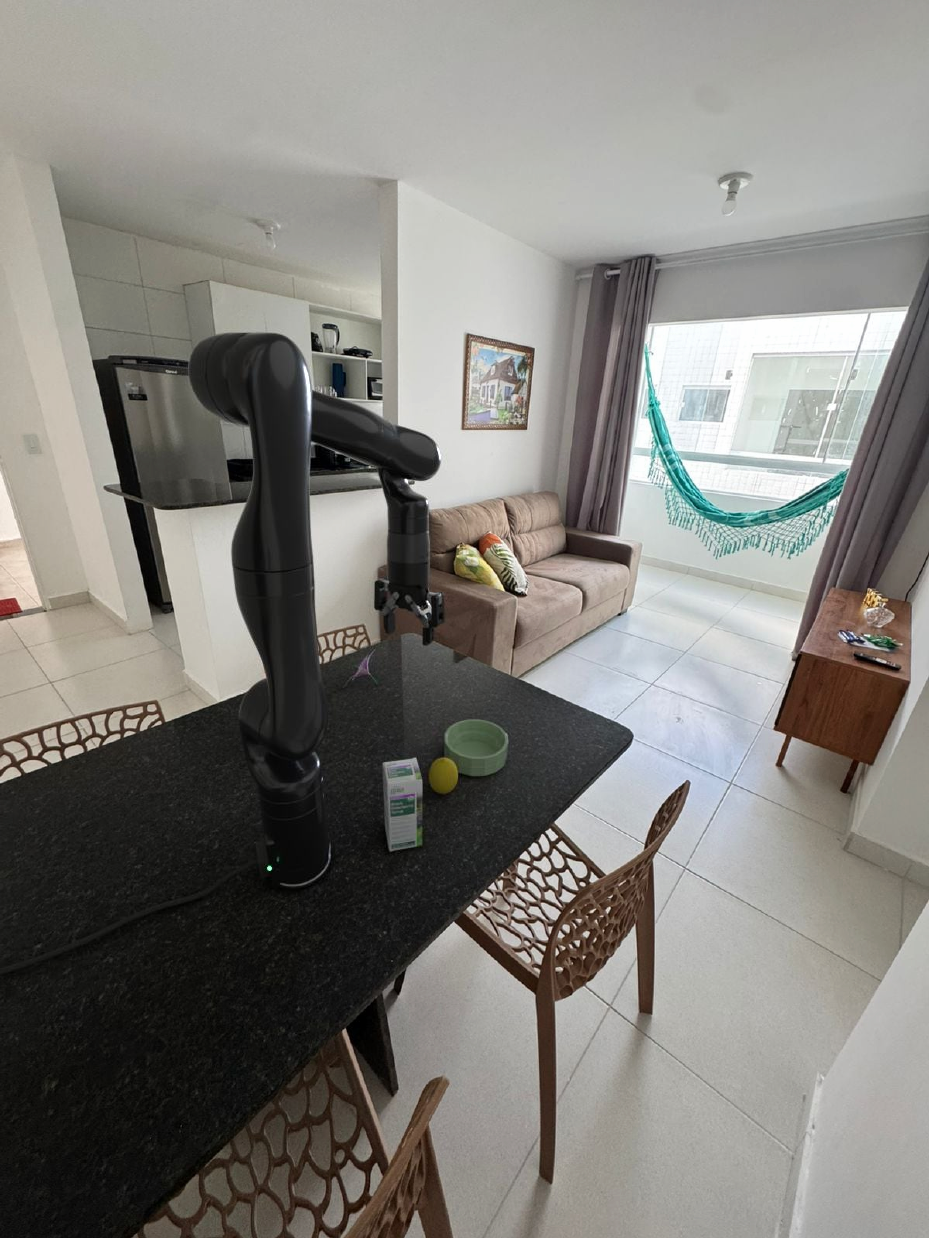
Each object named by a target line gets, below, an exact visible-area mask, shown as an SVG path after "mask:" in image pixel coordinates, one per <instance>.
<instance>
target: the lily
mask: <svg viewBox="0 0 929 1238" xmlns="http://www.w3.org/2000/svg"><path fill="white" fill-rule="evenodd" d="M374 652H375V650H373V651H372V652H371V654H369V655H368V654H367V655H366V656H365V657H364V658H363V659H362V661H361V662H360V663H359V665H358V664H357V663H356V664H354V666H355V667H356V668H358V669H357V672H356V673H355V674H353V675H352V676H350V678H349V679H348V680H347V681H346V683H345V684H344V686H343V687H342V688H343V689H344V688H345V686H347V684H348V683H349V681H350V680H352V681H353V680H354V679H355V678H356V677H360V676H365V675H367V676H369V677H370V678H371V679H372V680H373V682H374V683H375V684H376V686H379V684H378V682H377V680H376V679H375V678H374V677H373V675H371V673H370V672H369V660H370V658H371V656H372V655H373V653H374Z"/></svg>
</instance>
